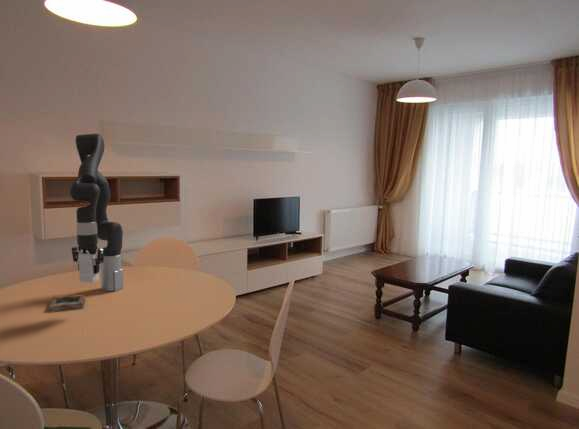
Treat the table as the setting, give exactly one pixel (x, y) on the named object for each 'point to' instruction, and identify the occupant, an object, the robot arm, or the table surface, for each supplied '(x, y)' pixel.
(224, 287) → the table surface
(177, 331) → the table surface
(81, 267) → the skincare box
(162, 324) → the table surface
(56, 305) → the tray
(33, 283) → the table surface
